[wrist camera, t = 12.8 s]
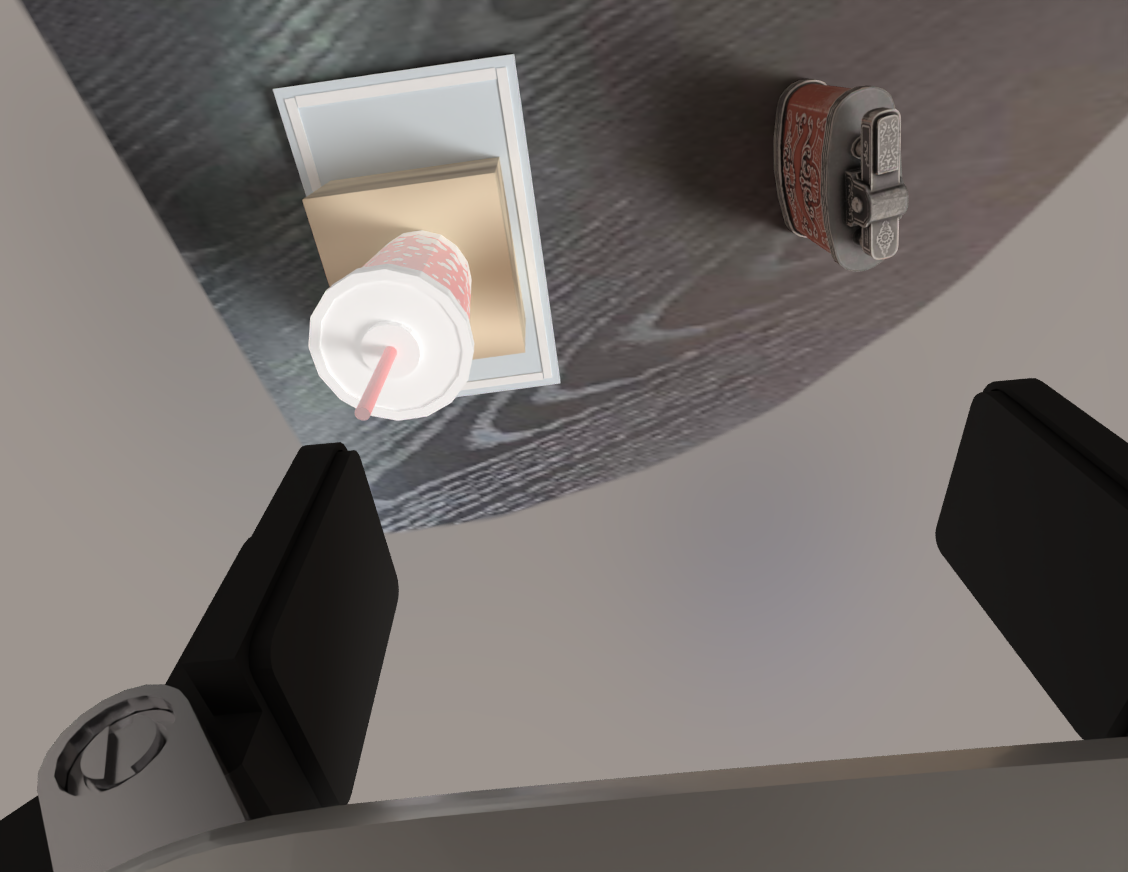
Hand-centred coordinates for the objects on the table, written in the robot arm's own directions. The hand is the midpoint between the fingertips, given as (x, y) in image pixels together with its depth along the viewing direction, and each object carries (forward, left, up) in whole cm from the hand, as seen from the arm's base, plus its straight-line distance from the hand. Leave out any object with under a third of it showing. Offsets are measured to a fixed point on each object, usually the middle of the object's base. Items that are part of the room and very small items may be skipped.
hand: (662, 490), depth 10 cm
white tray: (+3, -8, -30) cm, 31 cm away
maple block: (+3, -8, -29) cm, 30 cm away
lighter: (+1, +13, -30) cm, 33 cm away
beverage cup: (+3, -8, -24) cm, 25 cm away
